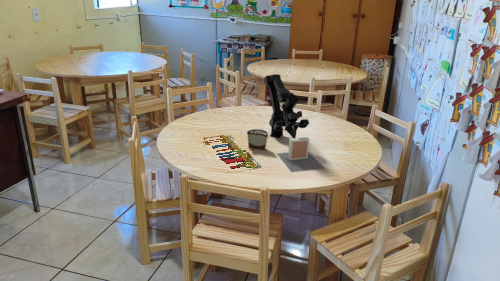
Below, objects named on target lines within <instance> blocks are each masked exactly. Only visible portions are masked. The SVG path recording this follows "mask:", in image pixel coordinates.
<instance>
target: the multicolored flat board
mask: <svg viewBox="0 0 500 281" xmlns="http://www.w3.org/2000/svg"><path fill="white" fill-rule="evenodd" d="M231 136H232V135H231V134H229V135H224V134H223V135H222V134H220V135H216V136H214V137H220V138H223V139H216V140H220V141H222V143H228V144H222V145H215V146H212V148H213V149H215V148H218V147H226V146H228V149H222V150H217V151H216V152H219V151H226V150H229V149H230V150H232V151H230V152H225V153H218V154H216V155H223V154H229V155H223V156H219V158H221V159H220V160H222V161H224V162H225V163H226V164H230V163H235V162H237V163H238V162H243V163H241V164H242V165H241V164H238V165H236V166H230V168H231V169H235V168H240V167H246V168H253V169H252V170H255V169H254V168H256V169H261V167H262V165H261V164H260V163H259V162H256V161H257V160H255V158H254V157H253V155H252V154H251V153H250V152H249V151H247V150H246V149H245V150H241V148H239V147H238V145H236V143H234V141H233V140H231V138H232V139H234V140H236V139H235V138H234V137H233V136H232V137H231ZM229 137H230V138H229ZM207 138H213V136H208V137H205V136H204V137H203V139H204V140H205V139H207ZM209 141H214V140H209ZM214 142H219V141H214ZM203 143H205V145H210V144H209V143H212V142H208V141H204V142H203ZM223 145H225V146H223ZM241 147H243V146H242V145H241ZM234 150H237V151H234ZM246 151H247V152H246ZM232 152H237V153H235V154H239V156H235V157H231V156H234V155H235V154H234V153H233V154H230V153H232ZM243 152H246V153H247V154H246V153H243ZM246 155H247V156H246ZM223 157H227V158H223ZM237 157H238V158H237ZM250 158H251V159H250ZM252 160H253V161H254V160H255V162H256V163H257V165H256V164H255V163H254V162H253V161H252ZM246 162H247V163H246ZM247 164H248V165H250V166H246V165H247ZM258 164H259V165H258ZM262 168H263V167H262Z"/></svg>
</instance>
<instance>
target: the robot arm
mask: <svg viewBox="0 0 500 281" xmlns="http://www.w3.org/2000/svg"><path fill="white" fill-rule="evenodd" d="M263 82H264V84H265V87H266V88H267V90H268V92H269V97H270V103H271V108H272V113H271V116H270V120H269V122H268V123H269V126H270V127H271V129H270V130H271V131H270V135H269V136H270V137H275V138H281V137H282V136H283V135H284V131H286V132H287V133H288V134H289V135H290V136H291V139H293V138H297V130H298V129H304V128H307V127H308V126H309V125H310V120H309V119H307V118H306V119H305V118H304V119H300V118H302V117H303V112H302V110H300V111H299V110H298V111H297V112H296V111H294V108H296V106H297V104H298V102H299V98H298V96H297V95H295V94H294V92H291V91H290V90H289V89H287V88H286V87H285V84H284V82H283V80H282V78H281V74H279V73H278V74H277V73H275V74H274V73H273V74H270V75H267V74H266V76H265V77H264V78H263ZM281 103H282V105H280V104H281ZM299 119H300V121H298V120H299Z"/></svg>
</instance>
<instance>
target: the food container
mask: <svg viewBox="0 0 500 281" xmlns="http://www.w3.org/2000/svg"><path fill="white" fill-rule="evenodd" d="M246 135H247V142H248V149H249V148H250V149H251V150H252V149H254V150H259V151H260V150H261V151H266V147H267V141H268V137H269V132H268V131H266V130H264V129H259V128H254V129H253V128H252V129H249V130H247V132H246Z"/></svg>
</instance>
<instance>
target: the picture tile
mask: <svg viewBox="0 0 500 281" xmlns="http://www.w3.org/2000/svg"><path fill="white" fill-rule="evenodd" d="M288 142H289V143H288V151H287V153H288V159H289V160H297V159H307V158H308V152H309V147H310V138H309V137H296V138H289V141H288Z"/></svg>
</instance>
